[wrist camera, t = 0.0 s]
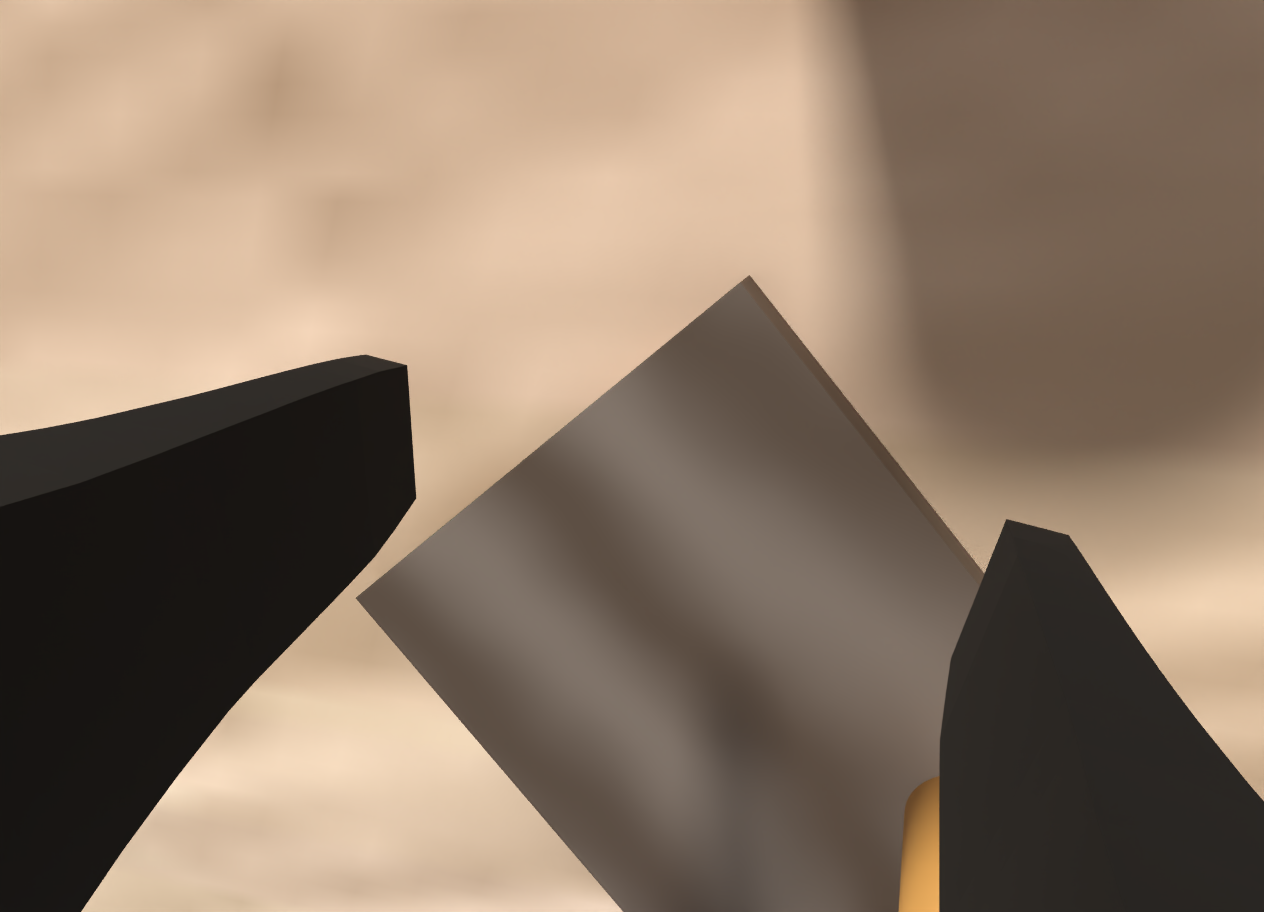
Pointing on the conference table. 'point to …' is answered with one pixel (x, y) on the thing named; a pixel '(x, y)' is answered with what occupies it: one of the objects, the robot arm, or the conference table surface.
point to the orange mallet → (921, 850)
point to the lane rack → (703, 629)
